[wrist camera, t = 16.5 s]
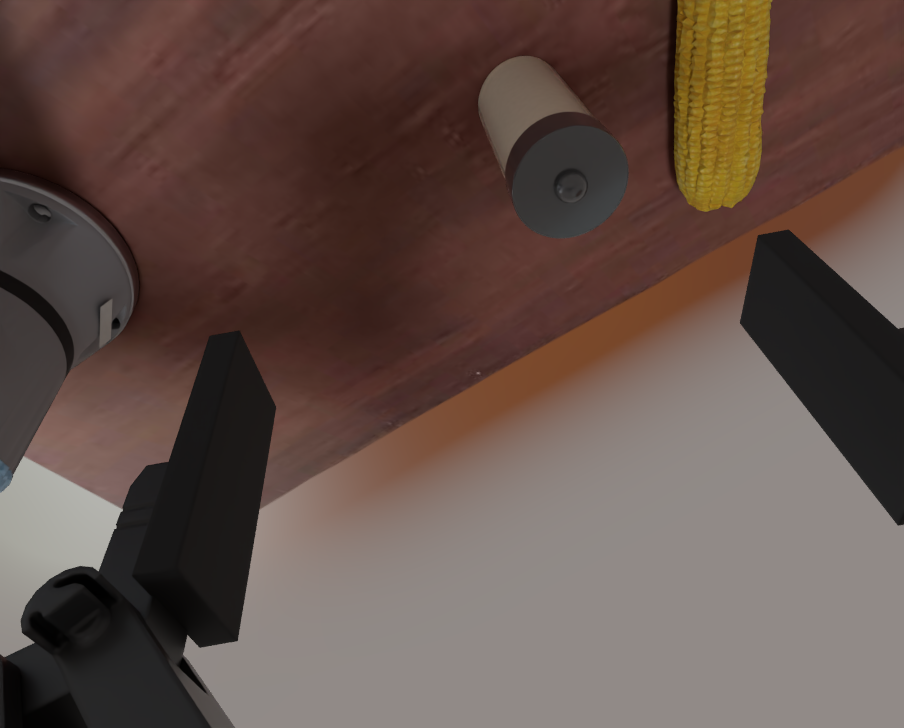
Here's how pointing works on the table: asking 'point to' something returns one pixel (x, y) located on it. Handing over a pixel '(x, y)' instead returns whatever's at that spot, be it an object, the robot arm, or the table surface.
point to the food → (719, 98)
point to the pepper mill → (551, 149)
